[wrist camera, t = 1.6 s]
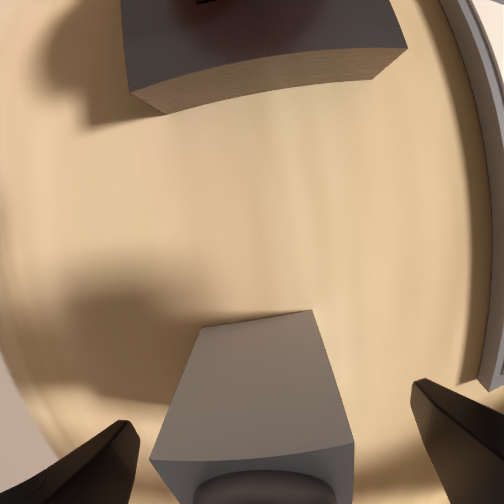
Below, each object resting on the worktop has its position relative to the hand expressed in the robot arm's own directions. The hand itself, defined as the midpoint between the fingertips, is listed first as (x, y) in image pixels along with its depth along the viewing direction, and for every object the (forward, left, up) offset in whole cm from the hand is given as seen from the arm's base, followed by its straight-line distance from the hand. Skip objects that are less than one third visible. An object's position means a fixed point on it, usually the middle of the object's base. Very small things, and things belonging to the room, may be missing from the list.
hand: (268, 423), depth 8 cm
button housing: (-2, -13, -3) cm, 13 cm away
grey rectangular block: (0, 0, -3) cm, 3 cm away
